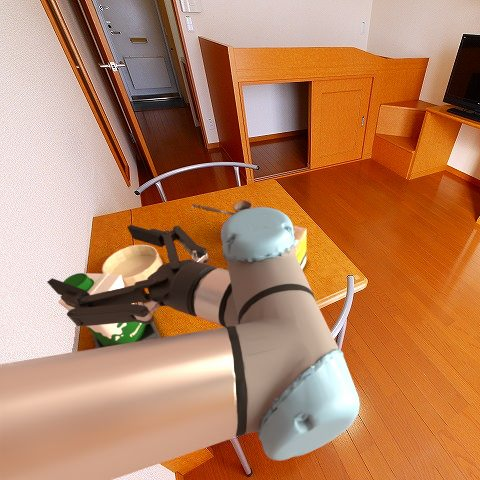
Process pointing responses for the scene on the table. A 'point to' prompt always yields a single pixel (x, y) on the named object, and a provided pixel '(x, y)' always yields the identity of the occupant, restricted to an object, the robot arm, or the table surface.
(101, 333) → the milk carton
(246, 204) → the coffee pot
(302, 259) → the tea box
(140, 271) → the bowl
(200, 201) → the table surface
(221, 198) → the table surface
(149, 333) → the tray
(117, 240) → the table surface
